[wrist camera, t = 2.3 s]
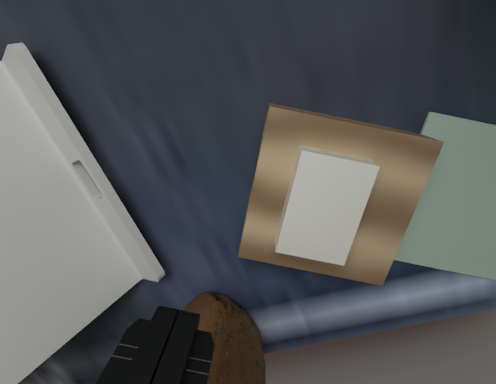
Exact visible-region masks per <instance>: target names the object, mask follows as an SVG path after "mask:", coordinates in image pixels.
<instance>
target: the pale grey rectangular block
mask: <svg viewBox="0 0 496 384" xmlns="http://www.w3.org/2000/svg"><path fill="white" fill-rule="evenodd" d="M379 168H380V166H379V165H378V164H376V163H375V162H374V161H372V160H370V159H365V158H360V157H355V156H350V155H346V154H341V153H336V152H331V151H326V150H321V149H316V148H311V147H306V146H301V145H299V148H298V152H297V156H296V160H295V164H294V167H293V171H292V175H291V179H290V183H289V187H288V191H287V195H286V199H285V203H284V206H283V210H282V214H281V218H280V222H279V226H278V230H277V234H276V238H275V252H277V253H282V254H287V255H292V256H297V257H302V258H307V259H312V260H317V261H322V262H327V263H332V264H337V265H342V266H344V265H345V262H346V259H347V256H348V254H349V251H350V248H351V245H352V243H353V240H354V237H355V234H356V232H357V229H358V226H359V223H360V221H361V218H362V215H363V212H364V210H365V207H366V204H367V201H368V199H369V196H370V193H371V190H372V188H373V185H374V182H375V179H376V177H377V174H378V171H379Z"/></svg>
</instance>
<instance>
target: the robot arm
mask: <svg viewBox="0 0 496 384" xmlns="http://www.w3.org/2000/svg"><path fill="white" fill-rule="evenodd" d="M199 320H200V314H199V313H194V312H188V311H183V310H180V312H179V310H178V309H173V308H168V307H162V306H158V308H157V310H156V312H155V314H154V316H153V318H152V320H151V321H149V320H144V319H138V320H137V321H136V322H135V323H134V324H132V325H131V326H130V327H129V328H128V329H127V330H126V332H125V333H124V335H123V337H122V339H121V340H120V342H119V345H118V346H117V347H116V349H115V351H114V353H113V355H112V357H111V358H110V360H109V362H108V363H107V365H106V367H105V369H104V370H103V372H102V374H101V376H100V377H99V379H98V381H97V383H96V384H207V381H208V376H209V371H210V366H211V361H212V356H213V351H214V342H213V338H212V334H211V332H206V331H201V330H198V326H199Z"/></svg>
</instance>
